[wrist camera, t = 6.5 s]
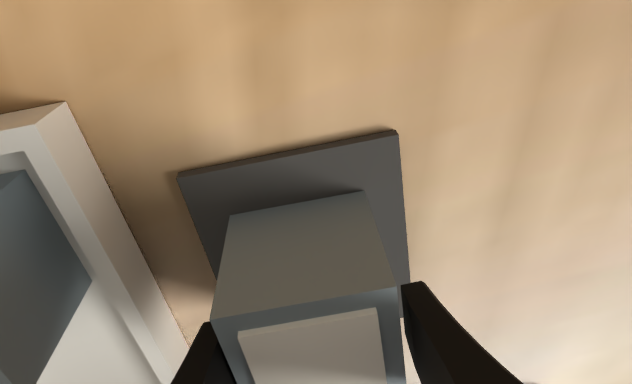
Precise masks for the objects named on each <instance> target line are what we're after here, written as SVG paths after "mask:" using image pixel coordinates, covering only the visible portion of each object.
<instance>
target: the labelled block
mask: <svg viewBox="0 0 632 384" xmlns="http://www.w3.org/2000/svg"><path fill="white" fill-rule="evenodd" d="M209 320H210V322H211V325H212V327H213V329H214V331H215V334H216V336H217V338H218V341H219V343H220V345H221V348H222V350H223V352H224V355H225V357H226V359H227V361H228V364H229V366H230V368H231V371H232V373H233V375H234V378H235V380H236V382H237V384H406V376H405V365H404V355H403V345H402V335H401V325H400V315H399V305H398V295H397V286H396V283H395V280H394V277H393V274H392V271H391V268H390V265H389V262H388V259H387V256H386V253H385V250H384V247H383V244H382V241H381V238H380V235H379V233H378V230H377V227H376V224H375V221H374V218H373V215H372V212H371V209H370V206H369V203H368V200H367V197H366V194H365V191H359V192H354V193H348V194H343V195H337V196H332V197H327V198H321V199H316V200H310V201H305V202H299V203H294V204H288V205H283V206H278V207H272V208H267V209H261V210H256V211H250V212H245V213H240V214H235V215H230V217H229V222H228V228H227V233H226V238H225V243H224V248H223V253H222V258H221V263H220V268H219V273H218V279H217V284H216V289H215V294H214V299H213V304H212V309H211V314H210V319H209Z"/></svg>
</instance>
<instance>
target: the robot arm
mask: <svg viewBox="0 0 632 384" xmlns="http://www.w3.org/2000/svg"><path fill="white" fill-rule="evenodd" d="M400 287H401V297H402V307H403V317H404V328H405V335H406V338H407V342H408V345H409V349H410V352H411V356H412V359H413V362H414V366H415V369H416V371H417V374H418V376H419V379H420V381H421V384H523V383H522V382H521V381H520V380H519V379H517V378H516V377H515V376H514V375H513V374H511V373H510V372H509V371H508V370H507V369H506V368H505V367H503V366H502V365H501V364H500V363H499V362H498V361H497V360H496V359H495V358H494V357H493V356H491V355H490V354H489V353H488V352H487V351H486V350H485V349H484V348H483V347H482V346H481V345H480V344H479V343H478V342H477V341H476V340H475V339H474V338H473V337H472V336H471V335H470V334H469V333H468V332H467V331H466V330H465V329H464V328H463V327H462V326H461V325H460V324H459V323H458V322H457V321H456V320H455V318H454V317H453V316H452V315H451V314H450V313H449V312H448V311H447V309H446V308H445V307H444V306H443V305H442V304H441V303H440V301H439V300H438V299H437V298H436V297H435V295H434V294H433V293H432V291H431V290H430V289H429V288H428V286H427V285H426V284H425V283H424V282H422V281H418V282H413V283H408V284H403V285H400ZM171 384H237V382H236V380H235V378H234V375H233V373H232V371H231V368H230V366H229V364H228V361H227V359H226V357H225V355H224V352H223V350H222V348H221V345H220V343H219V341H218V338H217V336H216V334H215V331H214V329H213V327H212V325H211V322H204V323H203V325H202V326H201V328H200V330H199V332H198V334H197V335H196V337H195V339H194V341H193V343H192V345H191V347H190V349H189V351H188V353H187V355H186V357H185V358H184V360H183V362H182V364H181V366H180V368H179V369H178V371H177V373H176V375H175V376H174V378H173V380H172V382H171Z"/></svg>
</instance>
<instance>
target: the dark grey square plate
mask: <svg viewBox="0 0 632 384" xmlns="http://www.w3.org/2000/svg"><path fill="white" fill-rule="evenodd" d="M176 179H177V182H178V184H179V187H180V189H181V192H182V194H183V197H184V199H185V202H186V204H187V207H188V209H189V212H190V214H191V217H192V219H193V222H194V225H195V227H196V230H197V232H198V235H199V237H200V240H201V242H202V245H203V247H204V250H205V252H206V255H207V257H208V260H209V262H210V265H211V267H212V270H213V272H214V275H215V277H216V280H217V279H218V273H219V268H220V263H221V258H222V253H223V248H224V243H225V238H226V233H227V228H228V222H229V217H230V215H235V214H240V213H245V212H250V211H256V210H261V209H267V208H272V207H278V206H283V205H288V204H294V203H299V202H305V201H310V200H316V199H321V198H327V197H332V196H337V195H343V194H348V193H354V192H359V191H365V194H366V197H367V200H368V203H369V206H370V209H371V212H372V215H373V218H374V221H375V224H376V227H377V230H378V233H379V235H380V238H381V241H382V244H383V247H384V250H385V253H386V256H387V259H388V262H389V265H390V268H391V271H392V274H393V277H394V280H395V283H396V286H397V295H398V305H399V315H400V318H402V317H403V307H402V297H401V287H400V285H403V284H408V283H410V271H409V259H408V246H407V234H406V221H405V209H404V196H403V184H402V172H401V159H400V147H399V135H398V133H397V132H396V130H392V131H387V132H382V133H377V134H372V135H367V136H362V137H356V138H351V139H346V140H341V141H336V142H331V143H326V144H321V145H316V146H311V147H306V148H301V149H296V150H291V151H286V152H281V153H276V154H270V155H265V156H260V157H255V158H250V159H245V160H240V161H235V162H230V163H225V164H220V165H215V166H210V167H205V168H200V169H195V170H189V171H184V172H179V173H178V176H177V178H176Z"/></svg>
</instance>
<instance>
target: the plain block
mask: <svg viewBox="0 0 632 384" xmlns="http://www.w3.org/2000/svg"><path fill="white" fill-rule="evenodd" d="M91 283H92V279H91V278H90V276H89V274H88V273H87V271H86V269H85V268H84V266H83V264H82V263H81V261H80V259H79V258H78V256H77V254H76V253H75V251H74V250H73V248H72V246H71V245H70V243H69V241H68V240H67V238H66V236H65V235H64V233H63V231H62V230H61V228H60V226H59V225H58V223H57V221H56V220H55V218H54V216H53V215H52V213H51V211H50V210H49V208H48V206H47V205H46V203H45V201H44V200H43V198H42V197H41V195H40V193H39V192H38V190H37V188H36V187H35V185H34V183H33V182H32V180H31V178H30V177H29V175H28V173H27V172H26V170H25V169H24V170H19V171H14V172H9V173H4V174H0V384H36V383H37V381H38V379H39V378H40V376H41V374H42V372H43V370H44V369H45V367H46V365H47V363H48V361H49V359H50V358H51V356H52V354H53V352H54V350H55V348H56V347H57V345H58V343H59V341H60V339H61V338H62V336H63V334H64V332H65V330H66V328H67V327H68V325H69V323H70V321H71V319H72V318H73V316H74V314H75V312H76V310H77V308H78V307H79V305H80V303H81V301H82V299H83V297H84V296H85V294H86V292H87V290H88V288H89V287H90V285H91Z"/></svg>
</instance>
